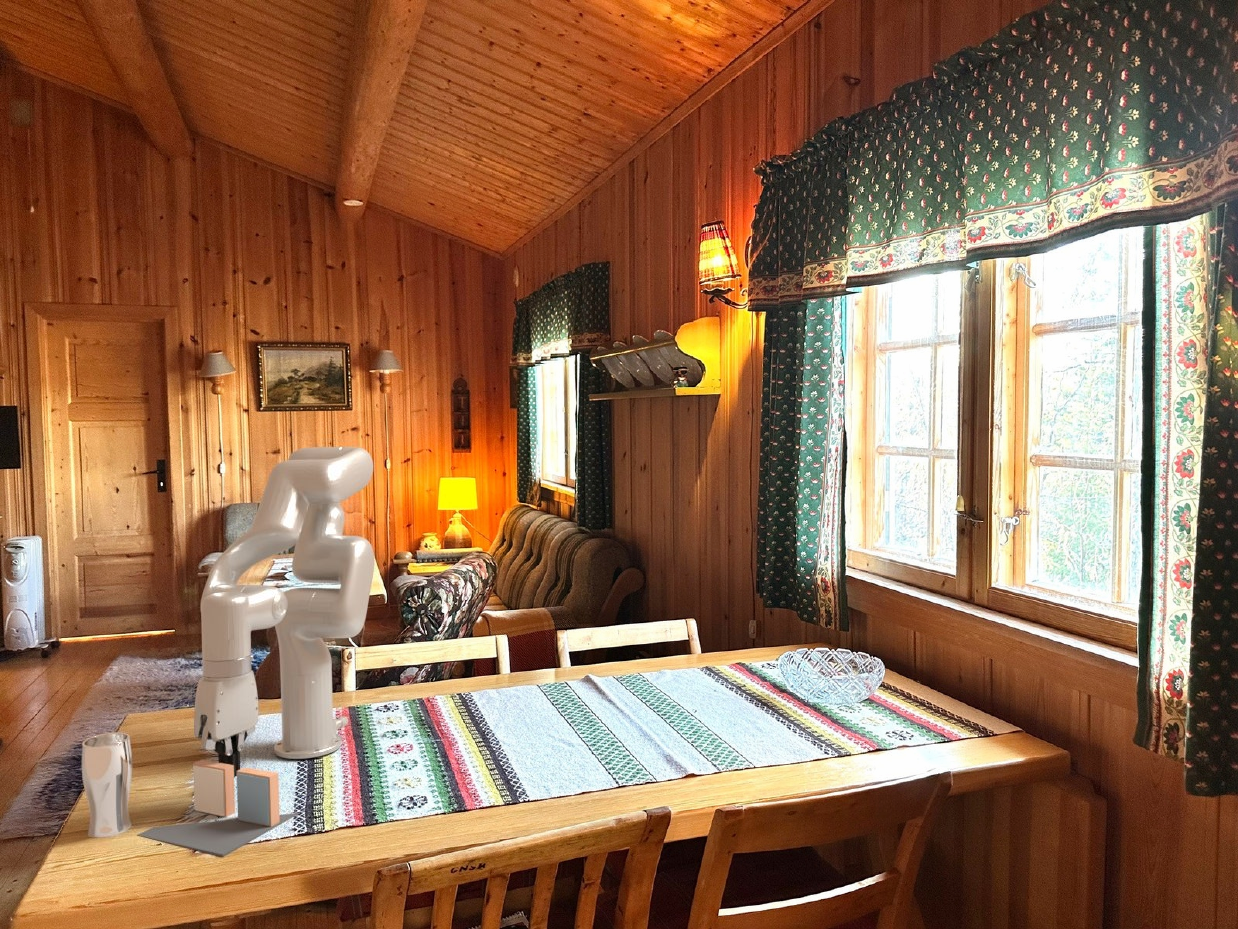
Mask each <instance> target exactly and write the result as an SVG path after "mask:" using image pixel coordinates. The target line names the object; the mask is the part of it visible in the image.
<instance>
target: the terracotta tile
mask: <svg viewBox="0 0 1238 929" xmlns="http://www.w3.org/2000/svg"><path fill="white" fill-rule="evenodd" d="M192 764H193V767H192V768H193V769H192V770H193V772H192V775H193V795H194V796H193V800H194V805H193V806H194V811H197V812H202V813H206V814H210V815H214V816H217V817H219V816H220V817H223V818H229V817H230V816H232V815H234V814H235V813H236V799H235V794H236V793H235V777H234V765H230V764H224V763H219V761H218V762H217V761H212V760H206V759H200V760H198V761H195V762H193V763H192Z"/></svg>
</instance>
